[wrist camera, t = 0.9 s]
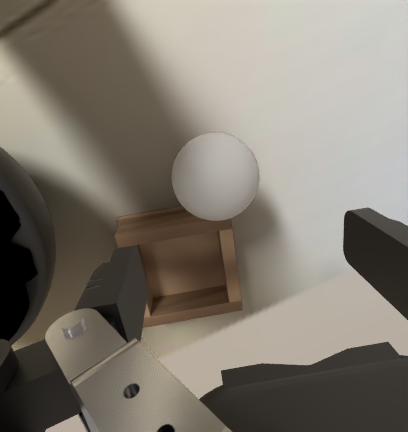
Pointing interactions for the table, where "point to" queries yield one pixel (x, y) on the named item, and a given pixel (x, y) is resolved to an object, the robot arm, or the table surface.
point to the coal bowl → (22, 249)
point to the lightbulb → (215, 176)
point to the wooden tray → (183, 264)
